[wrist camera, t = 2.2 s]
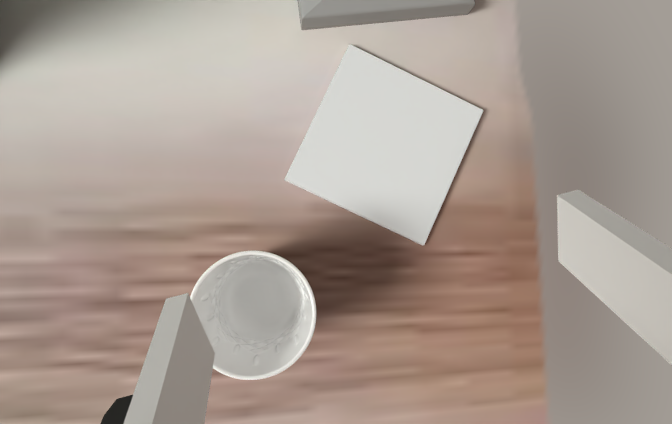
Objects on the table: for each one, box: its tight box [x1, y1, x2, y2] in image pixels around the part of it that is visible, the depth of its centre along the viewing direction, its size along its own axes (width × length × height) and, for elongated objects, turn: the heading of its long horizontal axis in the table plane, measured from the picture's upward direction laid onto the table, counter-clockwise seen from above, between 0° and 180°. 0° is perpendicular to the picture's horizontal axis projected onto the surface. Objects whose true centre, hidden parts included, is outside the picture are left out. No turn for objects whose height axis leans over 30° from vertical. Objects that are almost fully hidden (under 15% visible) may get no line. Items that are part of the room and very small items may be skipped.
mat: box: [284, 44, 483, 245], centre depth 40 cm, size 13×13×1 cm
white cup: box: [190, 251, 316, 380], centre depth 34 cm, size 8×8×10 cm
